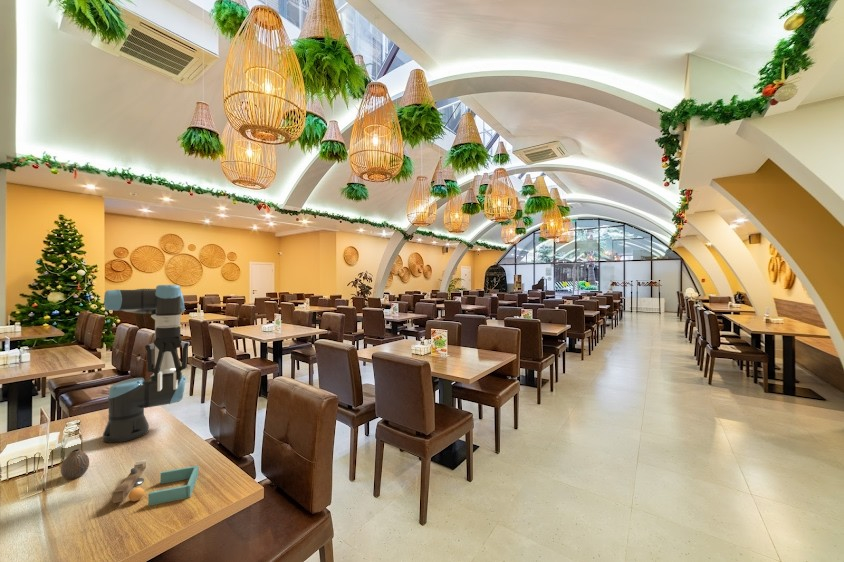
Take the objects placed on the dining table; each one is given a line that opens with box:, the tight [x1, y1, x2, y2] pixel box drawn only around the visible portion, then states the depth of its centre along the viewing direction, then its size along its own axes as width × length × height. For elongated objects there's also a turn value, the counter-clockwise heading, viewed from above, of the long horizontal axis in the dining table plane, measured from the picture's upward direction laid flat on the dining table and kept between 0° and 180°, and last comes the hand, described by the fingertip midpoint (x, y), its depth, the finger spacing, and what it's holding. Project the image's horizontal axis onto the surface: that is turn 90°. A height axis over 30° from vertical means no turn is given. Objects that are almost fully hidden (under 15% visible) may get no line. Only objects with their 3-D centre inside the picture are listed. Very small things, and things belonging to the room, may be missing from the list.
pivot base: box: [132, 477, 145, 488], centre depth 114 cm, size 5×5×1 cm
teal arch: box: [147, 465, 199, 506], centre depth 111 cm, size 13×10×4 cm
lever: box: [112, 459, 147, 504], centre depth 111 cm, size 20×2×4 cm, turn 23°
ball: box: [128, 487, 145, 502], centre depth 106 cm, size 4×4×4 cm
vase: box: [60, 448, 90, 480], centre depth 118 cm, size 7×7×9 cm
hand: (167, 389), depth 128 cm, fingers open, 4 cm apart
